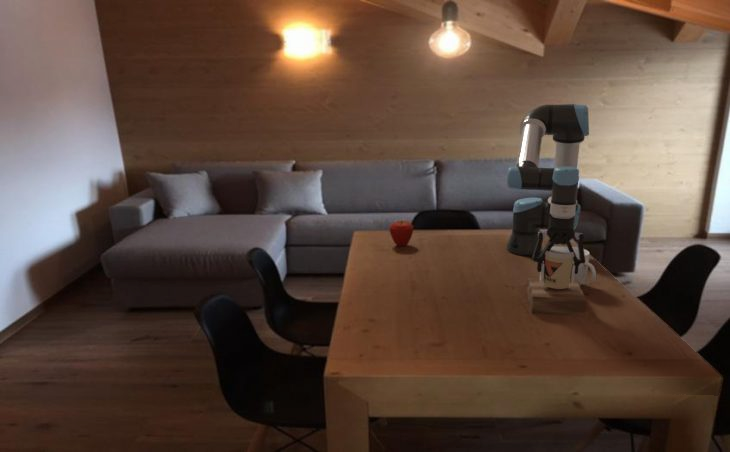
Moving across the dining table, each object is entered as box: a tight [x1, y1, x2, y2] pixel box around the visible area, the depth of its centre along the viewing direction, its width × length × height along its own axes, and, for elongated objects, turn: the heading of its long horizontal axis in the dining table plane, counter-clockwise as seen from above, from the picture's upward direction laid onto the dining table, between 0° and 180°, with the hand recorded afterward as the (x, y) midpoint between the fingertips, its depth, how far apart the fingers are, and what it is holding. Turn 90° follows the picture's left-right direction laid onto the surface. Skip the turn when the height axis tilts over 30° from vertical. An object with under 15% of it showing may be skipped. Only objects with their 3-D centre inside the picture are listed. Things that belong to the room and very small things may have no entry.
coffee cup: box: [543, 245, 574, 289], centre depth 164 cm, size 9×9×12 cm
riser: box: [526, 277, 587, 318], centre depth 166 cm, size 16×16×6 cm
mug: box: [566, 246, 597, 287], centre depth 180 cm, size 15×11×13 cm
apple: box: [389, 220, 414, 247], centre depth 230 cm, size 11×11×12 cm
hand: (556, 281), depth 165 cm, fingers open, 9 cm apart
